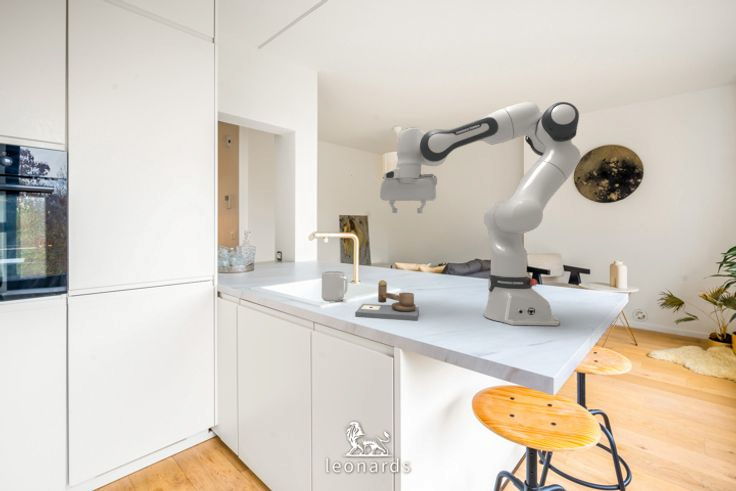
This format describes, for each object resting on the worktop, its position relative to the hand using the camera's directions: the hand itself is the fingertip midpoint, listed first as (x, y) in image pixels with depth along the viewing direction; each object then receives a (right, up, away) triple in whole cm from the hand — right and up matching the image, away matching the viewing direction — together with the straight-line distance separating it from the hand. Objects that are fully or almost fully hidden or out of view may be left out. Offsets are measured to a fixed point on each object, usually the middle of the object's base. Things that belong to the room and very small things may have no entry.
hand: (407, 213), depth 125 cm
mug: (-27, -34, +12) cm, 45 cm away
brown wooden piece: (-5, -33, -4) cm, 34 cm away
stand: (-7, -35, -8) cm, 36 cm away
